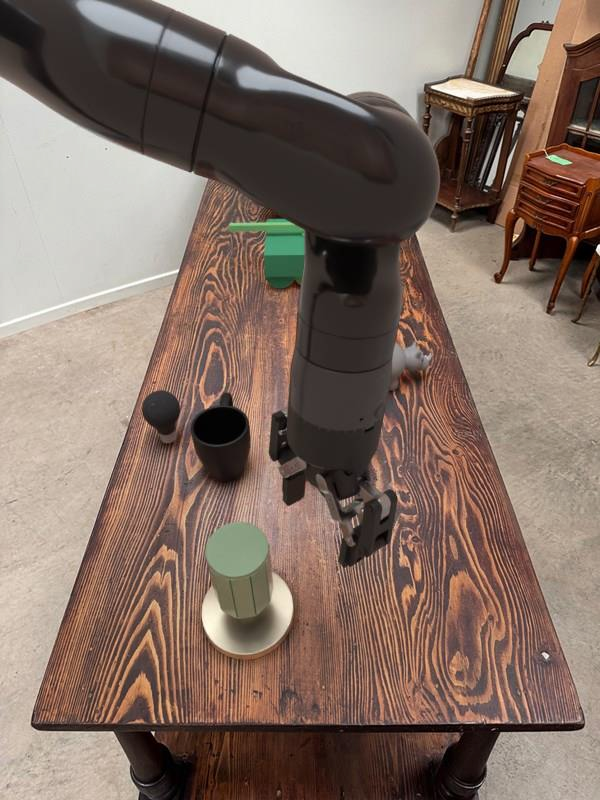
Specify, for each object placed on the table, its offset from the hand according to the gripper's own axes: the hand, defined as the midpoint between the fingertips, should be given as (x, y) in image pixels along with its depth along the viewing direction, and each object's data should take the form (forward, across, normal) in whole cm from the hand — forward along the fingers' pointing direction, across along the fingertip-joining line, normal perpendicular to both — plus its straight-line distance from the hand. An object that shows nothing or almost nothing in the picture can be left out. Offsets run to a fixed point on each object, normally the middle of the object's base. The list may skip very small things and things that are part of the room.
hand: (320, 529), depth 51 cm
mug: (+18, -29, +7) cm, 35 cm away
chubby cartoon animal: (+15, -26, +40) cm, 50 cm away
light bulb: (+19, -38, +1) cm, 42 cm away
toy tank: (+12, -67, +52) cm, 85 cm away
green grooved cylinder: (+14, -6, -5) cm, 16 cm away
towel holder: (+20, -6, -4) cm, 21 cm away
